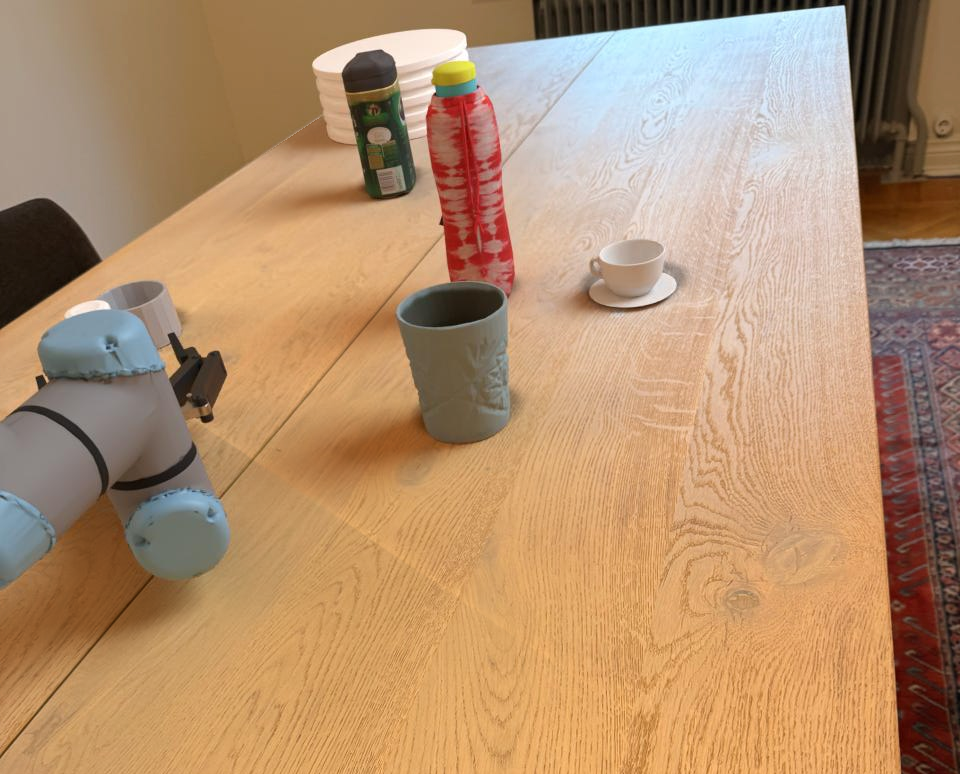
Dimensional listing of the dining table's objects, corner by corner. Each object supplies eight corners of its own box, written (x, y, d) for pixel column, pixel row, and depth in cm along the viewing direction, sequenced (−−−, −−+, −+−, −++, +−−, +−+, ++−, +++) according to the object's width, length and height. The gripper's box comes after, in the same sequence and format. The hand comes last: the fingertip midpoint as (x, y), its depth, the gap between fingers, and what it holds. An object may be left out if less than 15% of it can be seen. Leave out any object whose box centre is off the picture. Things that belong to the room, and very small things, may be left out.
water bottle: (448, 281, 118) (410, 54, 101) (511, 270, 118) (483, 41, 101) (454, 321, 109) (414, 80, 92) (522, 310, 109) (494, 66, 92)
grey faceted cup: (98, 342, 120) (79, 301, 116) (162, 314, 123) (146, 273, 120) (128, 362, 114) (109, 319, 110) (195, 332, 118) (179, 290, 114)
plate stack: (302, 148, 171) (285, 77, 163) (363, 101, 189) (350, 36, 182) (445, 141, 162) (433, 65, 154) (494, 92, 180) (486, 23, 173)
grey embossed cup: (399, 425, 94) (374, 310, 86) (476, 383, 98) (458, 270, 90) (463, 459, 88) (441, 339, 80) (542, 413, 92) (529, 294, 84)
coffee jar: (371, 182, 151) (343, 50, 139) (419, 175, 150) (395, 42, 138) (363, 203, 144) (334, 66, 132) (414, 196, 143) (389, 57, 131)
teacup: (686, 275, 110) (687, 235, 106) (661, 314, 103) (661, 272, 100) (605, 272, 114) (603, 232, 110) (576, 308, 107) (573, 268, 104)
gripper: (24, 543, 81) (6, 438, 96) (295, 445, 87) (238, 361, 102) (-19, 470, 76) (-32, 371, 91) (271, 371, 82) (215, 293, 96)
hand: (111, 365), depth 96 cm, fingers open, 13 cm apart
